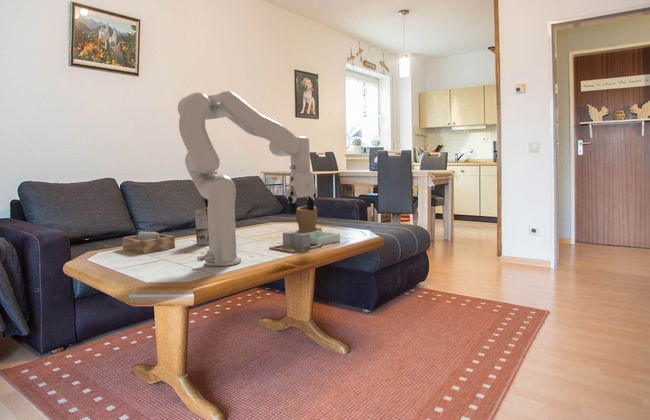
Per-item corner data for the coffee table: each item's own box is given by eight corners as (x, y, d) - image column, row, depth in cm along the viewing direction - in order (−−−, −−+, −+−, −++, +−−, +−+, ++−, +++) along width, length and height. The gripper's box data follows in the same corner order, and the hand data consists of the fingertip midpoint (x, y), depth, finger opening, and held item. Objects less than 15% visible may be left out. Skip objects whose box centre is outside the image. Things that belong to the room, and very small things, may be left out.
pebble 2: (302, 250, 173) (302, 235, 173) (294, 249, 176) (294, 234, 176) (310, 248, 177) (310, 233, 176) (302, 247, 180) (302, 232, 179)
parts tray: (293, 255, 168) (292, 251, 168) (269, 251, 178) (269, 247, 177) (321, 248, 180) (321, 245, 180) (298, 245, 189) (297, 241, 189)
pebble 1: (290, 248, 178) (289, 233, 178) (283, 247, 181) (282, 232, 181) (298, 246, 181) (297, 232, 181) (290, 245, 184) (290, 231, 184)
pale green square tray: (318, 247, 182) (317, 238, 182) (295, 244, 192) (294, 235, 192) (340, 242, 193) (339, 233, 192) (317, 239, 202) (316, 230, 202)
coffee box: (210, 245, 194) (208, 208, 192) (196, 245, 194) (194, 209, 192) (216, 241, 203) (214, 206, 201) (202, 241, 203) (200, 207, 201)
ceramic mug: (158, 249, 186) (157, 231, 185) (137, 251, 184) (136, 232, 183) (161, 245, 196) (160, 228, 195) (142, 247, 194) (141, 229, 193)
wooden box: (140, 253, 178) (139, 241, 177) (122, 248, 189) (121, 237, 189) (175, 247, 189) (175, 236, 188) (156, 243, 201) (156, 232, 200)
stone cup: (299, 239, 204) (298, 207, 203) (290, 235, 215) (289, 205, 213) (328, 236, 210) (328, 205, 209) (319, 233, 221) (318, 203, 219)
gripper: (290, 169, 164) (292, 214, 166) (322, 167, 177) (323, 209, 179) (277, 169, 169) (279, 213, 171) (309, 167, 182) (310, 208, 184)
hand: (302, 211), depth 175 cm, fingers open, 9 cm apart
